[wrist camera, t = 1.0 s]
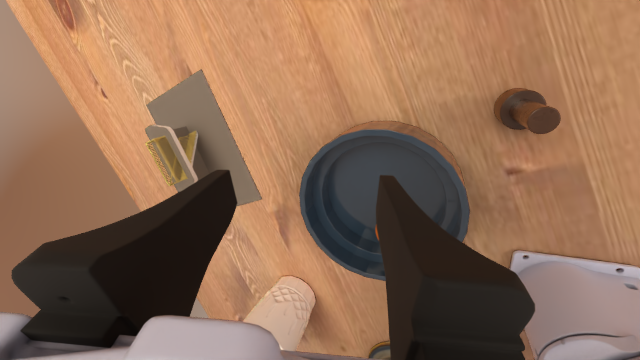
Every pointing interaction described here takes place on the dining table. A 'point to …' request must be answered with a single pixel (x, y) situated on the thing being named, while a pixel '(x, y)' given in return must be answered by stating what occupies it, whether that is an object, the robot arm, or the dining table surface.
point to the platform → (196, 138)
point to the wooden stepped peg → (526, 111)
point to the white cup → (285, 311)
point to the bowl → (362, 189)
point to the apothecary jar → (381, 351)
